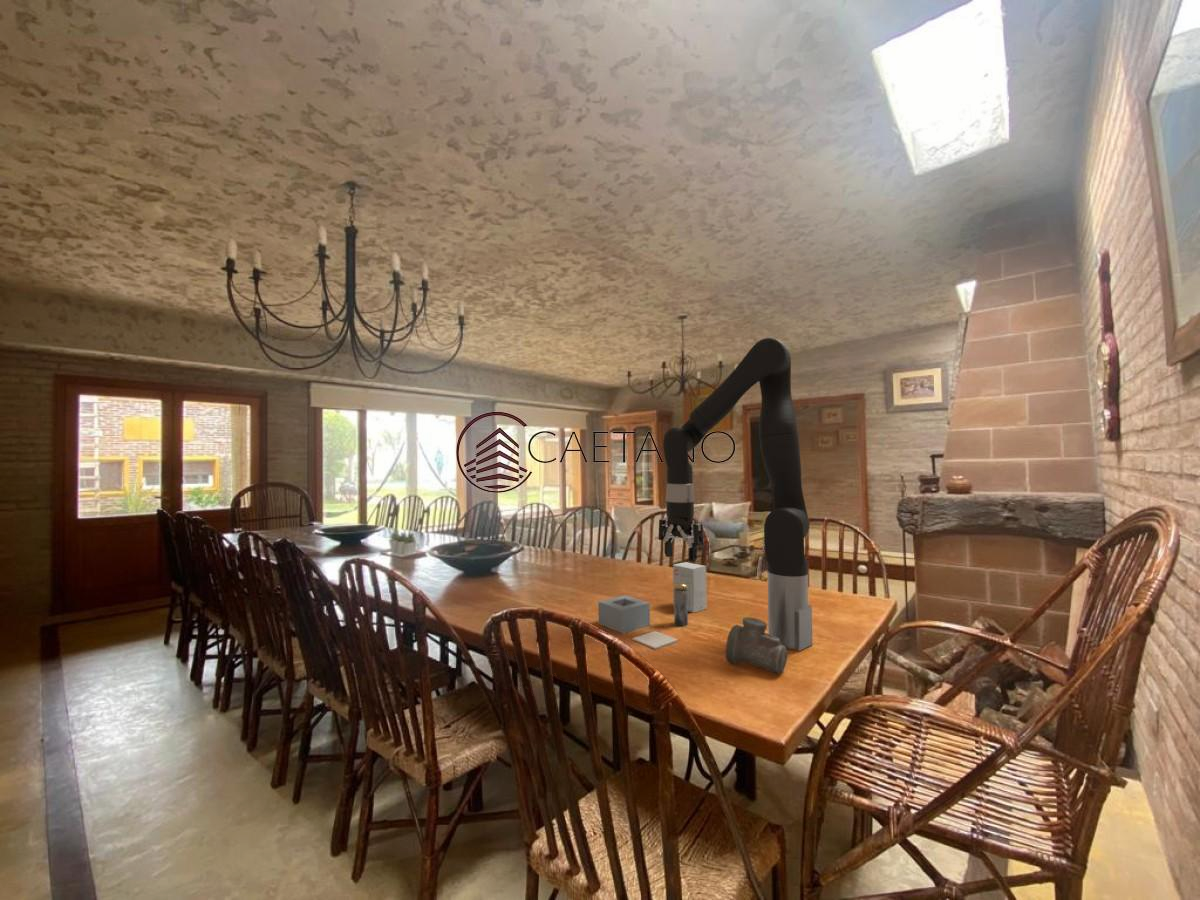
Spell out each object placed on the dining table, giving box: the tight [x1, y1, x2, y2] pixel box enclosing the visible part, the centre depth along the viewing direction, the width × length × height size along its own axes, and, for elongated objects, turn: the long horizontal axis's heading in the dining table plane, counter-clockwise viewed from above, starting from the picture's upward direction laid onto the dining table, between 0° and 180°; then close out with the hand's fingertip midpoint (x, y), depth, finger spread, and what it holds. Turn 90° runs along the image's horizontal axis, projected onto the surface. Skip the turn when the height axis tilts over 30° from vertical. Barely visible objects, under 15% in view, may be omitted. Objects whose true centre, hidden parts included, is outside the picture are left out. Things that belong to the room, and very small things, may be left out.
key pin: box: [672, 582, 689, 627], centre depth 133 cm, size 4×4×11 cm
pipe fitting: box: [724, 616, 788, 675], centre depth 106 cm, size 12×8×10 cm
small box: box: [672, 561, 708, 614], centre depth 148 cm, size 8×6×13 cm
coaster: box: [632, 630, 679, 650], centre depth 121 cm, size 8×8×1 cm
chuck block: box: [597, 595, 651, 634], centre depth 134 cm, size 10×10×6 cm
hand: (680, 558), depth 134 cm, fingers open, 8 cm apart
